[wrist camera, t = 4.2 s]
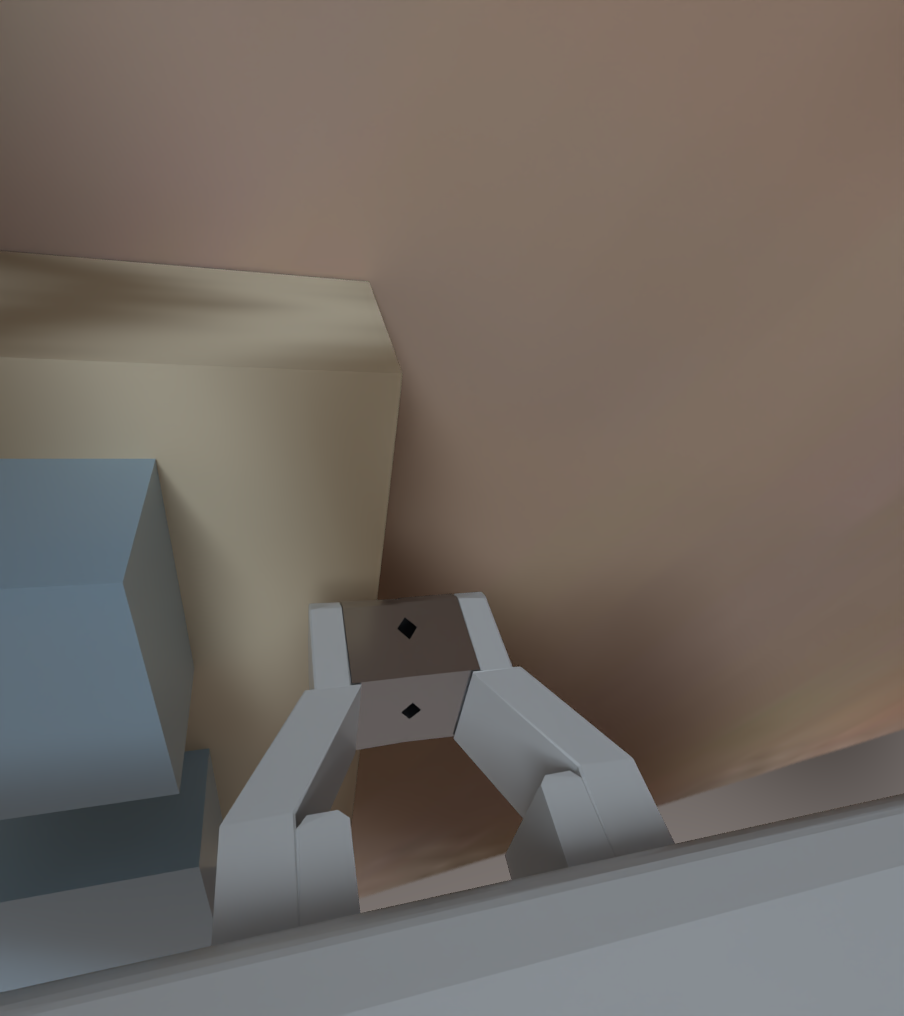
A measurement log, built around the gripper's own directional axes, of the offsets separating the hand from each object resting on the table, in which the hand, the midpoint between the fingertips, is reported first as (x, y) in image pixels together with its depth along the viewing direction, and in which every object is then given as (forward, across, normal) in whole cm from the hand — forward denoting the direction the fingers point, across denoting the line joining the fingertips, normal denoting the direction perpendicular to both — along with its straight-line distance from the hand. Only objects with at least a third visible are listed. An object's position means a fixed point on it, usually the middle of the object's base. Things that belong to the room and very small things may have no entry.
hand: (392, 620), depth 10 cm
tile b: (+1, +6, +8) cm, 10 cm away
